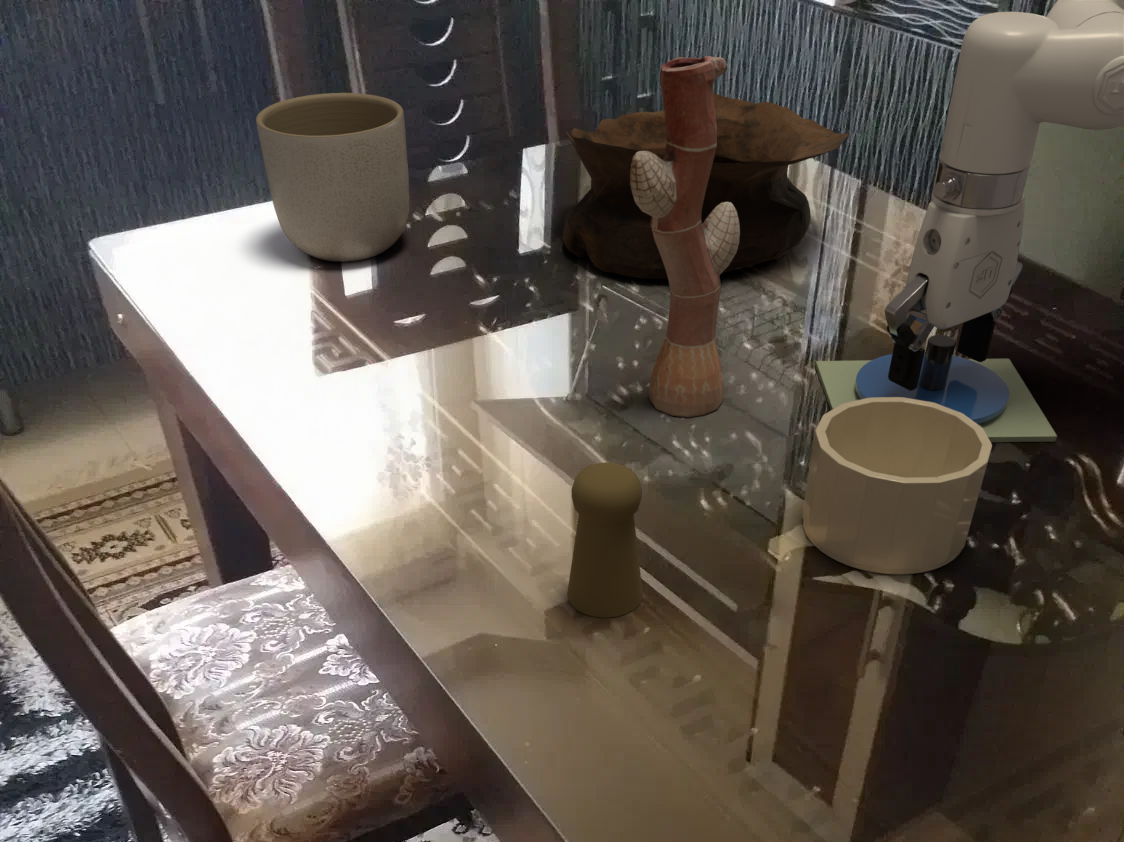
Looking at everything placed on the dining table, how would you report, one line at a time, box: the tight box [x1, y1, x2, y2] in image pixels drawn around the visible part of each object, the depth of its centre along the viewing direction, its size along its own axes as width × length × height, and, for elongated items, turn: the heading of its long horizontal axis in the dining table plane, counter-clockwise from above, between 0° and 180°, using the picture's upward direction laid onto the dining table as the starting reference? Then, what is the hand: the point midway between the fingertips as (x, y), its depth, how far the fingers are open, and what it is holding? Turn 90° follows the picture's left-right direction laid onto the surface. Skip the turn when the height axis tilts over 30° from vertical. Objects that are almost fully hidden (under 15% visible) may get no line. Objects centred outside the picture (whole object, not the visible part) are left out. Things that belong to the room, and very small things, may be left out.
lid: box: [855, 334, 1010, 424], centre depth 111 cm, size 15×15×6 cm
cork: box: [566, 461, 644, 619], centre depth 88 cm, size 6×6×11 cm
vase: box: [630, 55, 740, 418], centre depth 104 cm, size 10×7×30 cm
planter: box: [255, 92, 410, 262], centre depth 138 cm, size 17×17×15 cm
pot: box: [801, 397, 993, 575], centre depth 95 cm, size 14×14×8 cm
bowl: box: [562, 93, 851, 280], centre depth 139 cm, size 34×33×15 cm
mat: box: [814, 358, 1058, 443], centre depth 113 cm, size 20×16×1 cm
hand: (937, 370), depth 111 cm, fingers open, 9 cm apart
